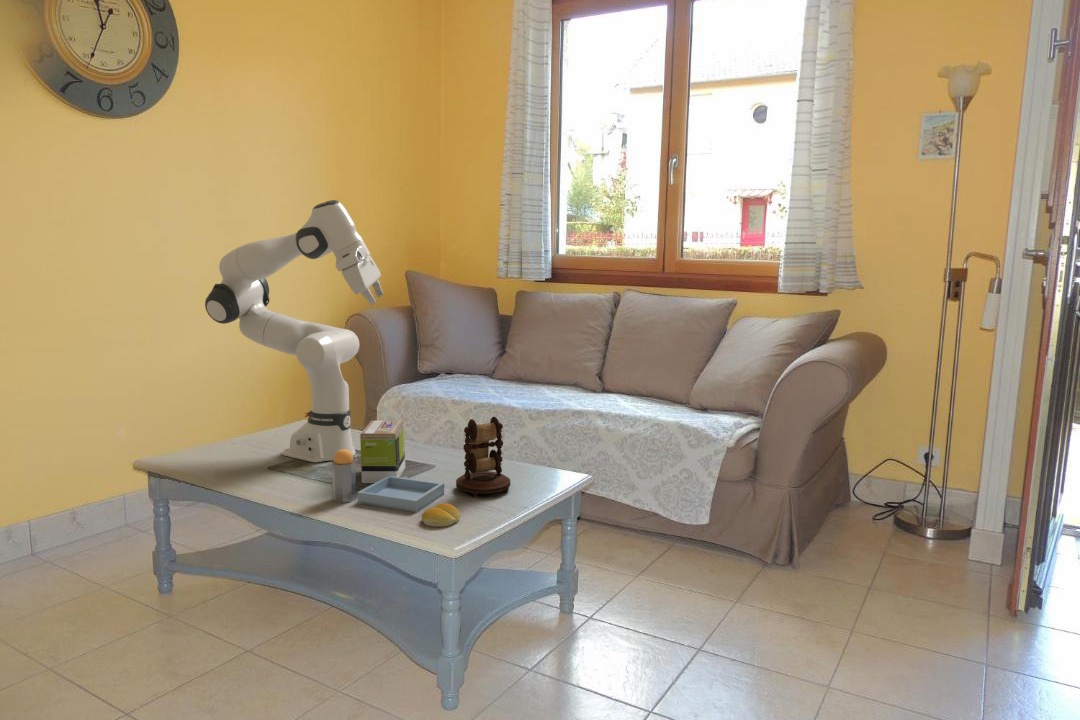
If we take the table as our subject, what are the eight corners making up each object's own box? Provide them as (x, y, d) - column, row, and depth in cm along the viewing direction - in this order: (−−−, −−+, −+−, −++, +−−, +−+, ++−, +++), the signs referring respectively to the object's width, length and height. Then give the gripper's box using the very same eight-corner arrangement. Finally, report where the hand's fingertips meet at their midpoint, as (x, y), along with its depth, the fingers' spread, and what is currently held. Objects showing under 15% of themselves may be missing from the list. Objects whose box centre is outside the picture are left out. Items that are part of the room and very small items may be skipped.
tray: (357, 503, 196) (357, 492, 196) (388, 486, 210) (388, 475, 210) (416, 512, 190) (416, 501, 190) (444, 494, 204) (444, 483, 204)
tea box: (372, 467, 226) (371, 419, 224) (406, 468, 226) (405, 419, 224) (360, 484, 212) (359, 432, 209) (397, 484, 212) (396, 432, 209)
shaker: (337, 503, 196) (336, 466, 194) (331, 497, 200) (330, 460, 199) (357, 500, 198) (357, 463, 197) (351, 494, 203) (350, 457, 201)
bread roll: (415, 523, 184) (415, 507, 183) (440, 513, 191) (440, 497, 190) (441, 531, 179) (441, 515, 179) (466, 520, 186) (466, 504, 186)
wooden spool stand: (495, 478, 219) (495, 409, 215) (520, 493, 206) (521, 421, 203) (447, 485, 211) (447, 415, 208) (470, 502, 199) (470, 427, 195)
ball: (330, 468, 196) (329, 450, 196) (341, 463, 201) (340, 446, 200) (346, 471, 195) (345, 452, 194) (356, 465, 199) (356, 448, 198)
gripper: (352, 253, 223) (375, 296, 226) (333, 267, 203) (359, 313, 207) (371, 244, 222) (394, 287, 226) (354, 257, 202) (379, 303, 206)
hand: (377, 299), depth 216 cm, fingers open, 8 cm apart
